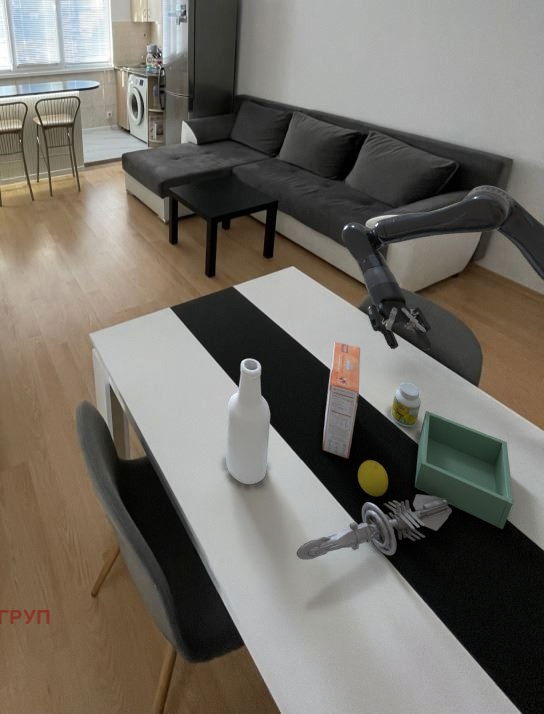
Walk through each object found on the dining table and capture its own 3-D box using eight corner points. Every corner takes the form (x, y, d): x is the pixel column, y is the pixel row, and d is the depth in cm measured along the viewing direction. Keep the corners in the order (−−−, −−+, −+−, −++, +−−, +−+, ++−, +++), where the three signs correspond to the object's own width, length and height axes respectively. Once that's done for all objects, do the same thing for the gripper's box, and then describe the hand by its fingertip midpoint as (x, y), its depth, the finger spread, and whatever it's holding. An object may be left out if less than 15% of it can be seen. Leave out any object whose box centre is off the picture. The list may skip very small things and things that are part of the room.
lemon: (352, 475, 93) (357, 450, 90) (380, 480, 92) (386, 454, 89) (359, 502, 88) (364, 476, 85) (388, 507, 87) (394, 481, 84)
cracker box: (325, 403, 110) (334, 339, 103) (351, 411, 108) (361, 346, 100) (320, 450, 99) (329, 383, 91) (348, 460, 96) (360, 392, 89)
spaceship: (282, 516, 80) (309, 550, 72) (429, 472, 89) (466, 498, 81) (285, 559, 79) (313, 598, 72) (431, 510, 89) (470, 540, 81)
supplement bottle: (421, 425, 103) (428, 396, 100) (401, 429, 102) (408, 400, 99) (404, 406, 108) (411, 378, 105) (385, 410, 107) (391, 382, 104)
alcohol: (273, 465, 96) (282, 363, 85) (252, 495, 91) (258, 390, 80) (240, 440, 102) (244, 342, 91) (218, 467, 96) (219, 366, 85)
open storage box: (497, 466, 93) (506, 442, 91) (502, 529, 82) (513, 504, 80) (419, 433, 101) (425, 410, 98) (414, 487, 90) (421, 463, 87)
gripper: (366, 278, 109) (393, 340, 98) (415, 282, 111) (448, 343, 100) (351, 293, 114) (375, 353, 103) (399, 296, 116) (428, 356, 105)
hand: (411, 348), depth 101 cm, fingers open, 8 cm apart
